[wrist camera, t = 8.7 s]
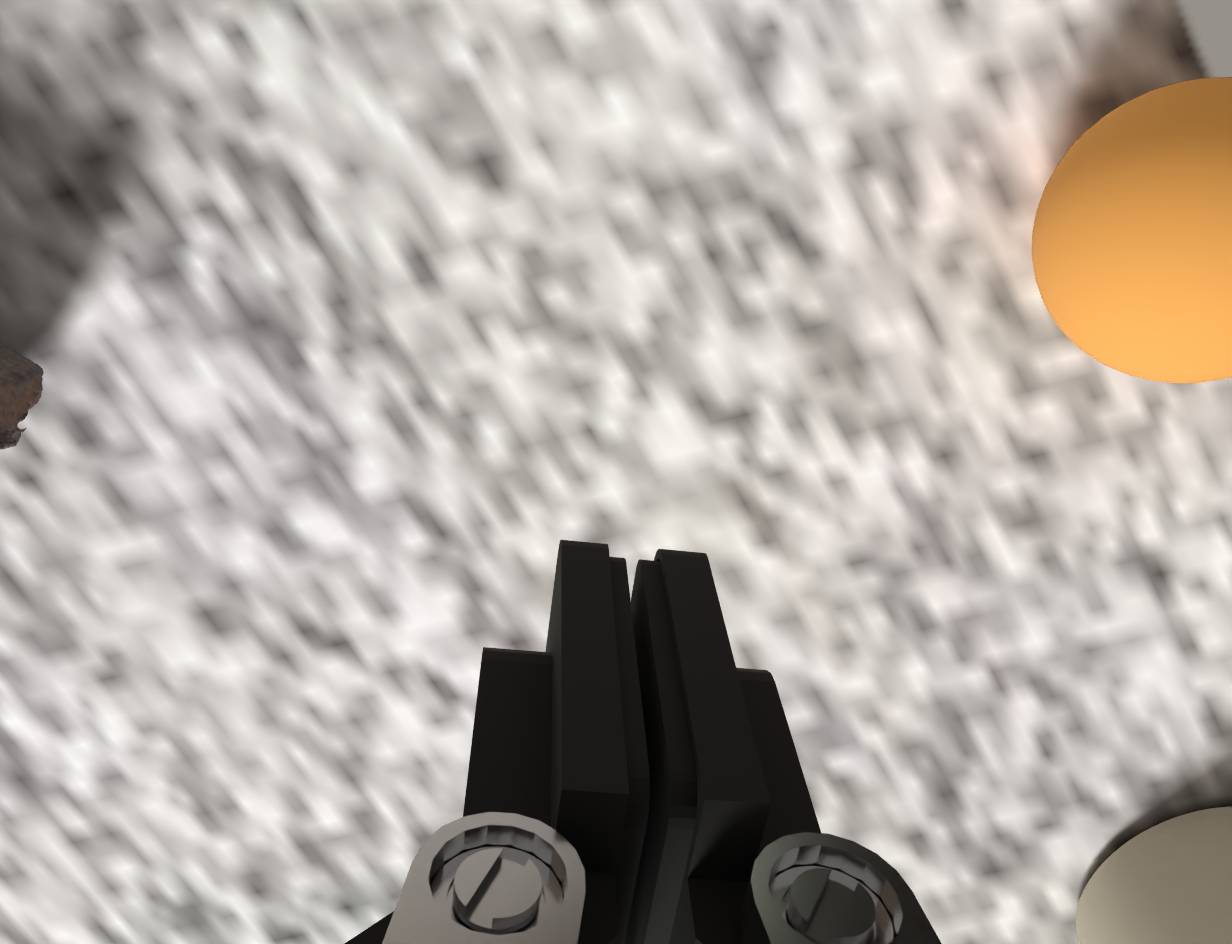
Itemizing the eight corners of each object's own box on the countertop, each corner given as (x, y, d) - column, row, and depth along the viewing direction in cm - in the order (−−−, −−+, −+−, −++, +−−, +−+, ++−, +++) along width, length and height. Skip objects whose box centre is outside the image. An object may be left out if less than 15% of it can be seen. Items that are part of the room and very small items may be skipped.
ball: (1369, 311, 22) (1139, 472, 23) (1170, 133, 24) (963, 283, 25) (1529, 163, 17) (1220, 380, 17) (1252, -51, 19) (983, 146, 19)
